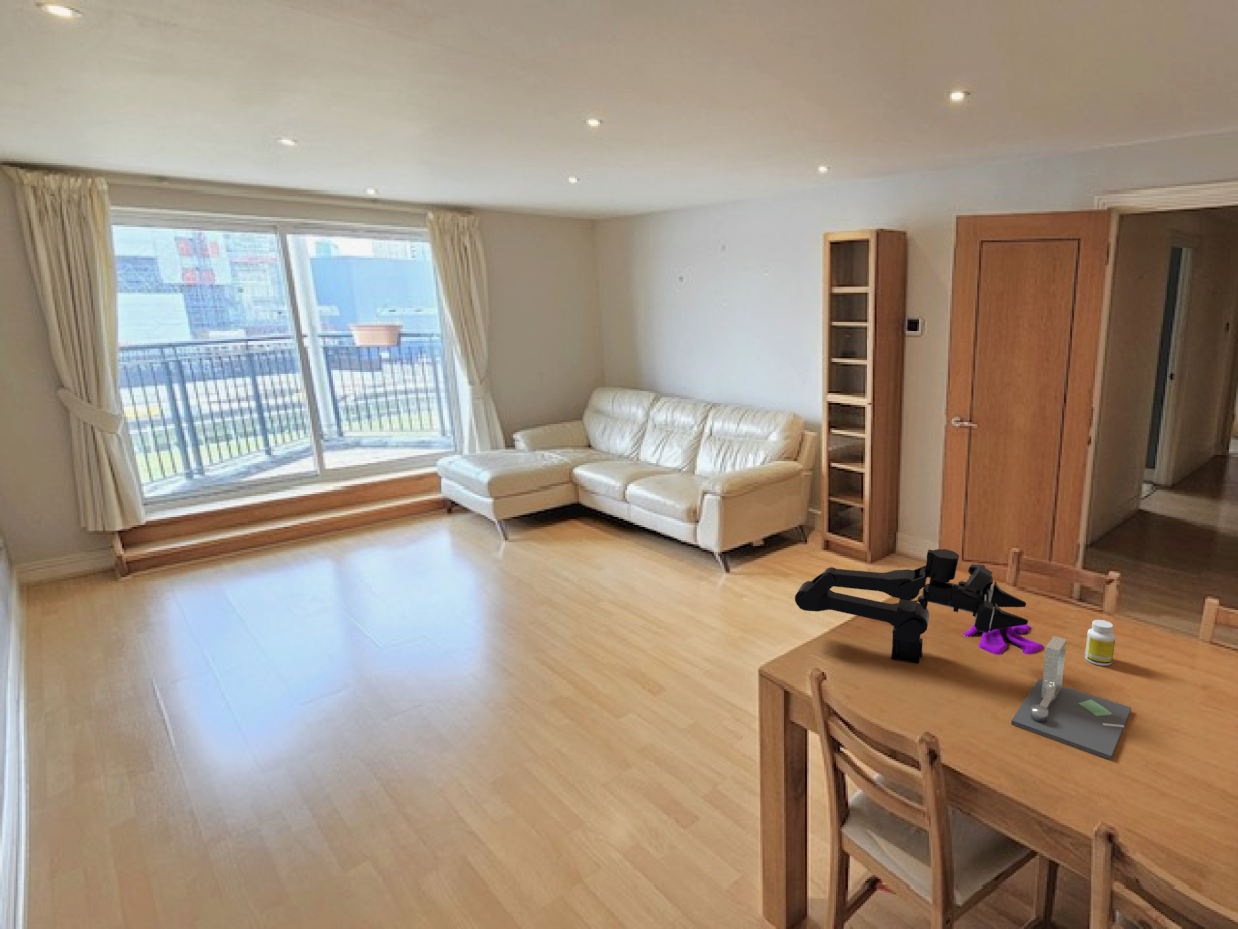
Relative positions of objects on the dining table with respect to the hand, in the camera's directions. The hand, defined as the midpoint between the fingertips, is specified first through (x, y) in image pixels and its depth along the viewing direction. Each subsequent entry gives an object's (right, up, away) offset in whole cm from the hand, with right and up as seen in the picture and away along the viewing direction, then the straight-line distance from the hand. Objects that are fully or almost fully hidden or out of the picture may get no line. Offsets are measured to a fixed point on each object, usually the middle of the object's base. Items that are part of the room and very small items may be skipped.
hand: (1026, 613), depth 149 cm
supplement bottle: (+22, -13, +8) cm, 27 cm away
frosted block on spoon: (0, -18, -8) cm, 19 cm away
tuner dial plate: (+2, -20, -11) cm, 23 cm away
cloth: (+6, -12, +22) cm, 25 cm away
